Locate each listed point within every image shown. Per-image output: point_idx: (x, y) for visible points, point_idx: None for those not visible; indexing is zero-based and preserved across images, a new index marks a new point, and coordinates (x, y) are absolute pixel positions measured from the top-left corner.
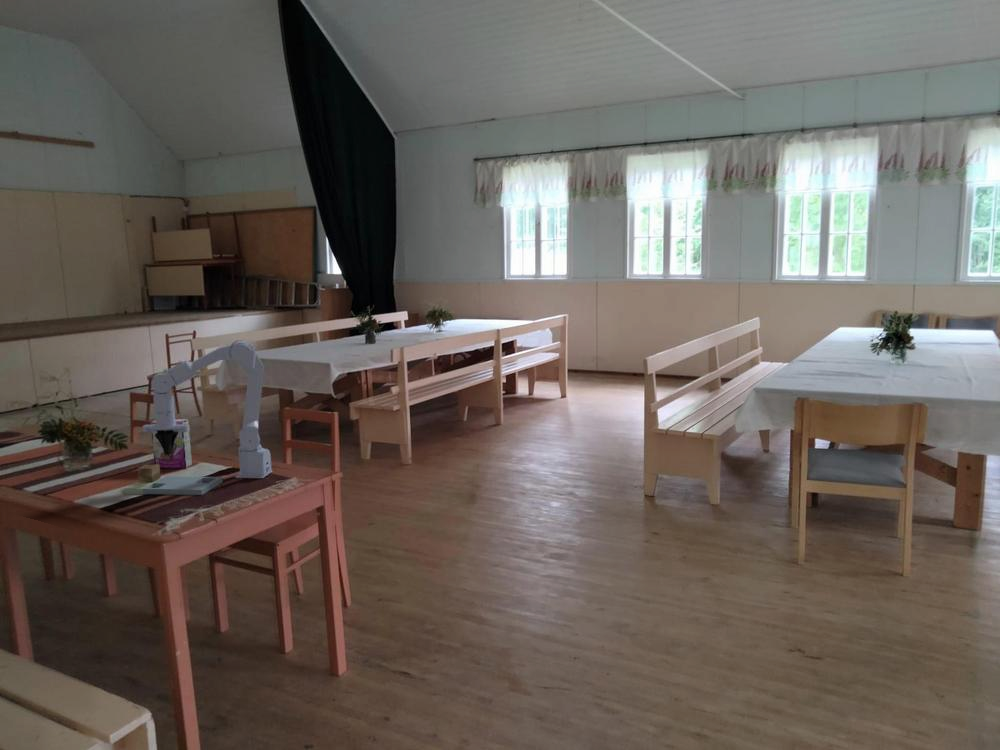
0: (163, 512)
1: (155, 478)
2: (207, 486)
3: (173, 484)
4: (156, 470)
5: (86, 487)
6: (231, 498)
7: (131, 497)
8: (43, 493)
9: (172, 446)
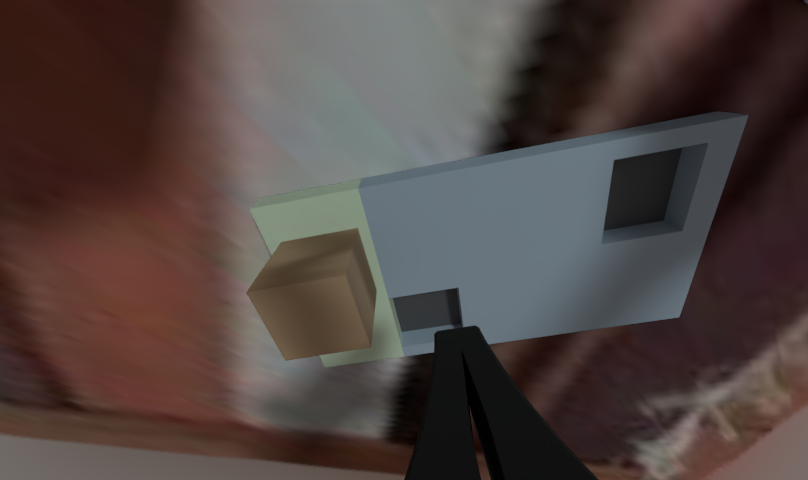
0: (593, 426)
1: (369, 276)
2: (692, 275)
3: (503, 290)
4: (360, 289)
5: (96, 332)
6: (803, 305)
7: (393, 370)
8: (48, 401)
9: (506, 387)
